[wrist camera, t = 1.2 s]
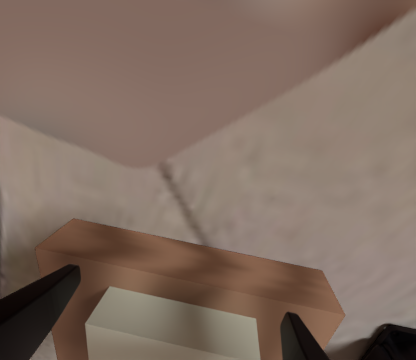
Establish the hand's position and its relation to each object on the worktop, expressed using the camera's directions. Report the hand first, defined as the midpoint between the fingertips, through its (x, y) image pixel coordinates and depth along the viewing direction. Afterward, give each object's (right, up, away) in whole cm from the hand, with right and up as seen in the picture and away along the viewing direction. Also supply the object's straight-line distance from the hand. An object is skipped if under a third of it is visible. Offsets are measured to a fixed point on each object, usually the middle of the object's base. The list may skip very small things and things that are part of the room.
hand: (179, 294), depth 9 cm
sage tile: (-1, -6, +6) cm, 8 cm away
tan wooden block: (-1, -7, +10) cm, 12 cm away
